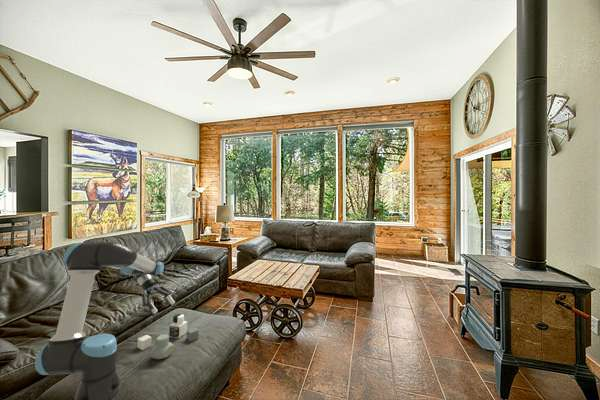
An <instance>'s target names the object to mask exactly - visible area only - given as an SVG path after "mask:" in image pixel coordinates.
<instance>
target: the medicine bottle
mask: <svg viewBox="0 0 600 400" xmlns="http://www.w3.org/2000/svg"><path fill="white" fill-rule="evenodd" d="M187 330H188V321H187V320H185V315H184V313H177V314H174V315H173V317H172V323H171V324H170V325H169V333H168V335H169V338H174V339H180V338H181V336H182V335H183V336H184V335H186V334H187ZM185 333H186V334H185ZM183 336H182V337H183Z"/></svg>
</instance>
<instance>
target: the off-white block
mask: <svg viewBox="0 0 600 400" xmlns="http://www.w3.org/2000/svg"><path fill="white" fill-rule="evenodd" d="M152 341H153V340H152V336H150V335H149V334H145V335H143V336H141V337H137V342H136V343H137V345H136V346H137V348H138V349H140V350H141V351H144V350H146V349H148V348H149V347H152Z"/></svg>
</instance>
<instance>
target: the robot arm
mask: <svg viewBox="0 0 600 400" xmlns="http://www.w3.org/2000/svg"><path fill="white" fill-rule="evenodd" d="M62 258H63V259H62V260H63V261H62V262H63V264H64V266H65V268H67V272H68V274H69V275H70V278H69V280H68V285H67V289H66V292H65V297H64V301H63V305H62V308H61V313H60V316H59V319H58V323H57V326H56V327H57V328H56V332H55V334H54V335H53V336H51V338H49V340H48V343H46V344H44V345H43V346H42V347H41V348H40V351H38V352H37V355H36V357H35V363H34V367H35V370H36V372H37V373H38V374H39V375H42V376H56V375H67V374H68V375H69V374H78V373H79V374H80V382H79V385H78V387H77V389H76V392H75V395H74V399H73V400H110V399H112V398H113V397H114V396H115V395H116V394H117V393H119V391H120V389H121V381H122V379H121V378H120V376H119V374H118V371H117V351H118V350H117V349H118V345H117V338H116V337H115V335H113V334H111V333H98V334H94V335H91V336H89V337H86V336H87V335H86V332H84V327H85V321H86V316H87V314H88V313H87V312H88V309H89V305H90V300H91V295H92V291H93V287H94V282H95V279H96V275H97V274H98V273H99V272H101V270H102V269H101V268H104V267H120V273H122V274H123V275H125V276H131V277H132V276H133V277H134V278H135V279H136V281H137V282H138V284H139V285H140V286H141V288H142V291H141V292H140V295H141V299H142V306H143V307H145V308H146V307H147V308H148V309H149V310H150V311H151V312H152V313H153V315H156V314H157V313H158V309H157V307H156V306H155V305H154V303H153V302H151V301H152V296H153V295H155V294H159V295H162V296H165V297H166V300H168V302H169V303H170V305H171V306H173V305H174V304H175V303H176V301H175V300H174V299H173V296H172V295H171V294H172V293H173V291H172V290H170V289H168V288H167V287H166V286H164V285H163V284H162V283H159V284H158V285H157V282H156V281H155V279H154V278H153V275H162V274H163V272H164V270H165V269H164V268H165V263H164V262H162V261H154V260H151V259H150V258H148V257H145V256H144V255H141V254H140V253H137V251H136V250H135V249H134V248H132V247H130V246H127V245H125V244H122V243H119V242H114V241H84V242H81V241H80V242H75V243H73V244H72V245H71V246H69V247H68V248H67V249H66V251H65V252H64V255H63V257H62Z"/></svg>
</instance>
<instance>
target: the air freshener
mask: <svg viewBox="0 0 600 400" xmlns="http://www.w3.org/2000/svg"><path fill="white" fill-rule="evenodd" d="M155 339H156V340H155V345H154V346H153V347H152V348H151V350H150V357H151V358H152V359H153V360H154V359H155V360H162V359H165V358H167V357H169V356H170V355H171V354H172V353H173V351H174V349H175V346H174V344H173V343H172V342H171V341H170V337H169V334H167V333H166V334H165V333H164V334H161V335H158V336H157V337H156V338H155Z"/></svg>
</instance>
